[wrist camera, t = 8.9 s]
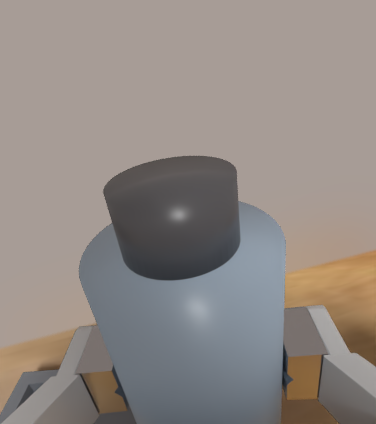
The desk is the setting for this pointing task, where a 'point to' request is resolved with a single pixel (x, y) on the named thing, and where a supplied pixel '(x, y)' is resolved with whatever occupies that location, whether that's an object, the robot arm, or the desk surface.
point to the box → (32, 381)
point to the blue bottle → (189, 294)
